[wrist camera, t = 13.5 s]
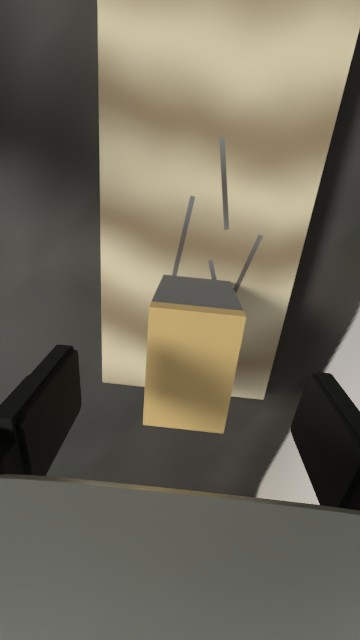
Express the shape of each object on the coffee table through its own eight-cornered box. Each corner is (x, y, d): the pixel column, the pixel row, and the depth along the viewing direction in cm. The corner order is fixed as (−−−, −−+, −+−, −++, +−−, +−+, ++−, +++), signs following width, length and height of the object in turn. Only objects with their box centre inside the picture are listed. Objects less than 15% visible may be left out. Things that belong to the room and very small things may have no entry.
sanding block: (163, 274, 19) (148, 306, 13) (229, 281, 19) (246, 316, 13) (157, 363, 22) (142, 424, 16) (215, 369, 21) (223, 433, 15)
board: (106, -15, 15) (97, -40, 13) (352, 9, 15) (370, -13, 13) (108, 371, 24) (102, 382, 22) (259, 387, 24) (263, 399, 22)
